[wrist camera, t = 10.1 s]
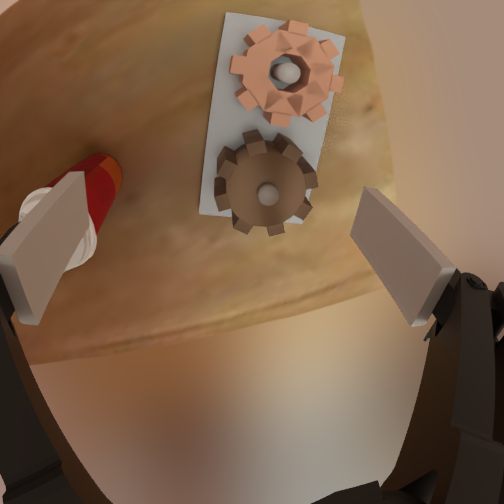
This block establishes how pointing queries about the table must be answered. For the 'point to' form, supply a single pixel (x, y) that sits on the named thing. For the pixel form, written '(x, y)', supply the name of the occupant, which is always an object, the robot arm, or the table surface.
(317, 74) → the gear
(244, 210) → the gear
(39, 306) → the robot arm
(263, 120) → the gear board
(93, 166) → the paper cup
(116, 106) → the table surface
